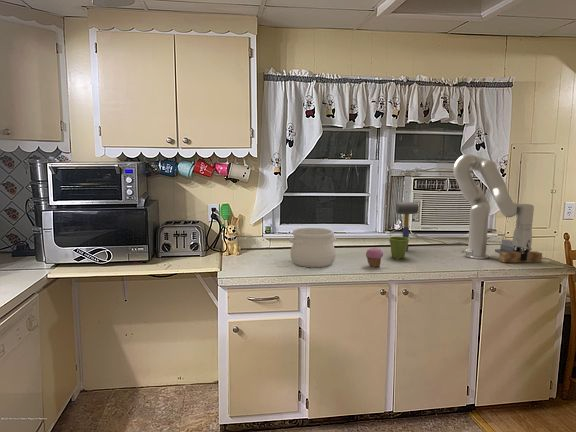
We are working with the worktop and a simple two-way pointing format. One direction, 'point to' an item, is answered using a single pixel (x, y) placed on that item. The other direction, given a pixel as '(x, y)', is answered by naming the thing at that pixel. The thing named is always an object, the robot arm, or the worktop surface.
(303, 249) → the pot
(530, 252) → the walnut rod
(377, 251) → the cupcake
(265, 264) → the worktop surface
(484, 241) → the robot arm
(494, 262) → the worktop surface
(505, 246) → the fulcrum stand
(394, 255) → the plant pot
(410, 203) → the rubber mallet
